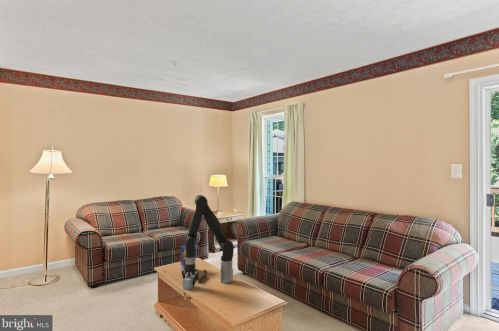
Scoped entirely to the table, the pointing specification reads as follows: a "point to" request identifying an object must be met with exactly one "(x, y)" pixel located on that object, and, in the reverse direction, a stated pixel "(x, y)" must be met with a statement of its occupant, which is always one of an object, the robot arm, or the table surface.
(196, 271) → the rack
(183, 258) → the beverage box
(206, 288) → the table surface
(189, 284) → the block
